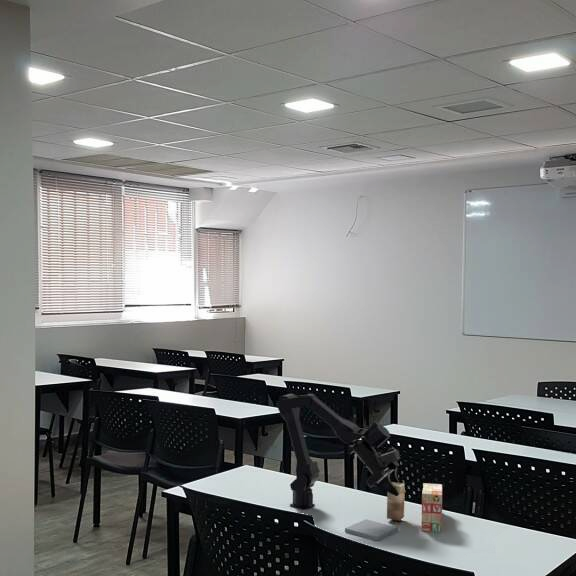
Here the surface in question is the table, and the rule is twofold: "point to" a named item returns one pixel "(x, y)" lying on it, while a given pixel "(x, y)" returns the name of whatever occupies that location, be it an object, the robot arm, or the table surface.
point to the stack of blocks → (431, 508)
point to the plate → (371, 529)
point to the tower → (396, 502)
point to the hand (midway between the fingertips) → (400, 493)
